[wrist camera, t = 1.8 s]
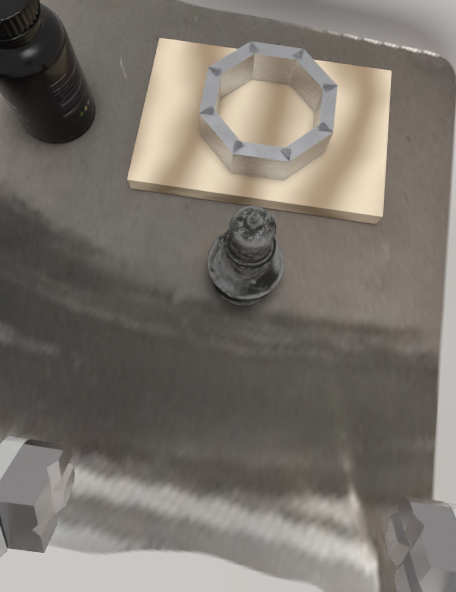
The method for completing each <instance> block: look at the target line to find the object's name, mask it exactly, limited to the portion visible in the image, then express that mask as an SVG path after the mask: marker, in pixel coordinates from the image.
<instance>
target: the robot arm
mask: <svg viewBox="0 0 456 592" xmlns="http://www.w3.org/2000/svg"><path fill="white" fill-rule="evenodd" d="M71 457H72V449H71V446H67V445H61V444H55V443H49V442H43V441H37V440H31V439H26V438H20V437H13V436H8V437H7V438H6V439H4V440H3V441H2V442H1V443H0V557H1V556H2V555H3V554H4V553H5V552H7V548H10V549H18V550H26V551H34V552H41V553H43V552H45V549H46V547H47V545H48V543H49V541H50V539H51V536H52V534H53V532H54V530H55V528H56V526H57V521H56V515H55V514H56V513H57V512H59V511H60V510H61V509H63V508H64V507H65V506H66V503H67V501H68V499H69V497H70V494H71V490H72V487H73V483H74V474H75V473H74V467H73V465H72V464H71V463H70V462H69V461H70V459H71ZM397 507H398V511H399V512H397V513H395V514H393V515H391V517H390V519H389V521H388V523H387V529H386V543H387V549H388V553H389V557H390V558H391V560H392V561H393V562H394V563H395V565H396V566H397V567H398V569H397V572H396V574H395V576H394V579H395V583H396V587H397V592H456V504H451V503H445V502H442V501H435V500H428V499H420V498H413V497H405V496H404V497H402V498H400V500H399V502H398V504H397Z"/></svg>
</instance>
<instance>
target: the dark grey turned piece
mask: <svg viewBox="0 0 456 592" xmlns="http://www.w3.org/2000/svg"><path fill="white" fill-rule="evenodd" d="M275 234H276V223H275V220H274V218H273V216H272V215H271V214H270V213H269V212H268V211H267V210H266V209H264V208H262V207H259V206H246V207H243V208H241V209H240V210H238V211H237V212H236V213H235V214H234V216H233V217H232V219H231V222H230V227H229V229H228V230H227V231H226V232H224V233H223V234H222V235H221V236H219V237H218V238H217V239H216V240H215V242H214V243H213V245H212V246H211V249H210V251H209V254H208V264H207V265H208V270H209V275H210V276H211V278H212V280H213V285H214V287H215V289H216V291H217V293H218V294H219V295H220V296H221V297H222V298H223V299H224V300H226V301H227V302H229V303H232V304H235V305H239V306H248V305H253V304H255V303H257V302H259V301H261V300H262V299H264V298H265V297H266V296H267V295H268V293H269V292H270V291H271V290H272V289H273V288H275V287H276V285H277V283H278V282H279V280H280V279H281V276H282V273H283V270H284V259H283V255H282V251H281V249H280V247H279V245H278V244H277V242H276V240H275Z"/></svg>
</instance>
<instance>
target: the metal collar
mask: <svg viewBox="0 0 456 592" xmlns="http://www.w3.org/2000/svg"><path fill="white" fill-rule="evenodd" d="M251 80H256V81H263V82H270V83H277V84H284V85H290V86H291V87H292V88H293V89H294V90H295V91H296V92H297V93H298V95H299V96H300V97H301V98H302V99H303V100H304V101H305V102H306V103H307V105H308V106H309V107H310V108H311V109H312V110H313V111H314V112H315V115H314V124H313V129H312V130H311V131H309V132H308V133H306V134H305V135H303V136H302V137H300V138H299V139H297V140H296V141H294V142H293V143H291V144H290V145H288V146H287V147H285V148H284V147H277V146H270V145H263V144H256V143H249V142H242V141H240V140H239V138H238V137H237V136H236V135H235V134H234V133H233V131H232V130H231V129H230V128H229V127H228V125H227V124H226V123H225V122H224V121H223V119H222V118H221V117H220V116H219V115H218V112H219V107H220V101H221V99H222V98H224V97H225V96H227V95H228V94H230V93H232V92H233V91H235V90H236V89H238V88H240V87H241V86H243V85H245V84H246V83H248V82H249V81H251ZM337 88H338V85H337V84H336V83H335V82H334V81H333V80H332V79H331V78H330V77H329V76H328V75H327V74H326V72H325V71H324V70H323V69H322V68H321V67H320V66H319V65H318V64H317V63H316V62H315V61H314V60H313V59H312V57H311V56H310V55H309V54H308V53H307V52H306V51H305V50H304V49H301V48H294V47H287V46H280V45H273V44H266V43H259V42H249V43H247V44H246V45H244V46H242V47H241V48H239V49H237V50H236V51H234V52H232V53H231V54H229V55H227V56H226V57H224V58H222V59H221V60H219V61H217V62H216V63H214V64H212V65H211V66H209V67H208V69H207V74H206V80H205V85H204V90H203V95H202V101H201V106H200V111H199V122H200V136H201V137H202V138H203V140H204V141H205V142H206V143H207V144H208V146H209V147H210V148H211V149H212V151H213V152H214V153H215V154H216V155H217V157H218V158H219V159H220V160H221V161H222V163H223V164H224V165H225V166H226V168H227V169H228V170H229V171H230V172H231V174H238V175H245V176H252V177H259V178H266V179H273V180H280V181H284V180H286V179H287V178H289V177H290V176H292V175H293V174H295V173H296V172H298V171H299V170H301V169H302V168H304V167H305V166H307V165H308V164H310V163H311V162H313V161H314V160H315V159H317V158H318V157H320V156H321V155H323V154H324V153H325V150H326V148H327V146H328V144H329V141H330V139H331V137H332V134H333V129H334V119H335V108H336V98H337Z"/></svg>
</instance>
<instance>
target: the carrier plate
mask: <svg viewBox="0 0 456 592" xmlns="http://www.w3.org/2000/svg"><path fill="white" fill-rule="evenodd" d="M236 50H237V49H234V48H227V47H220V46H213V45H206V44H199V43H192V42H185V41H178V40H171V39H163V38H160V39H159V43H158V47H157V52H156V56H155V60H154V65H153V69H152V74H151V78H150V82H149V87H148V91H147V95H146V100H145V104H144V108H143V113H142V117H141V121H140V126H139V130H138V134H137V139H136V143H135V148H134V152H133V156H132V161H131V165H130V169H129V174H128V178H127V181H128V183H129V185H130V188H132V189H139V190H146V191H153V192H160V193H166V194H173V195H180V196H187V197H194V198H201V199H208V200H214V201H221V202H228V203H235V204H242V205H249V206H259V207H262V208H269V209H276V210H283V211H290V212H297V213H303V214H310V215H317V216H324V217H331V218H338V219H345V220H351V221H358V222H365V223H372V224H377V223H378V222H379V220H380V219H381V218H382V217H383V204H384V187H385V170H386V154H387V137H388V120H389V103H390V87H391V71H390V70H382V69H375V68H368V67H361V66H354V65H347V64H340V63H333V62H326V61H319V60H314V61H315V62H316V63H317V64H318V65H319V66H320V67H321V68H322V69H323V70H324V71H325V72H326V74H327V75H328V76H329V77H330V78H331V79H332V80H333V81H334V82H335V83H336V84H337V85H338V88H337V98H336V108H335V119H334V129H333V134H332V137H331V139H330V141H329V144H328V146H327V148H326V150H325V153H324V154H323V155H321V156H320V157H318V158H317V159H315V160H314V161H313V162H311V163H310V164H308V165H307V166H305V167H304V168H302V169H301V170H299V171H298V172H296V173H295V174H293V175H292V176H290V177H289V178H287V179H286V180H284V181H280V180H273V179H266V178H259V177H252V176H245V175H238V174H231V172H230V171H229V170H228V169H227V168H226V166H225V165H224V164H223V163H222V161H221V160H220V159H219V158H218V157H217V155H216V154H215V153H214V152H213V151H212V149H211V148H210V147H209V146H208V144H207V143H206V142H205V141H204V140H203V138H202V137H201V136H200V122H199V111H200V106H201V101H202V95H203V90H204V85H205V80H206V74H207V69H208V67H209V66H211V65H212V64H214V63H216V62H217V61H219V60H221V59H222V58H224V57H226V56H227V55H229V54H231V53H232V52H234V51H236ZM218 115H219V116H220V117H221V118H222V119H223V121H224V122H225V123H226V124H227V125H228V127H229V128H230V129H231V130H232V131H233V133H234V134H235V135H236V136H237V137H238V138H239V140H240V141H242V142H249V143H256V144H263V145H270V146H277V147H284V148H285V147H287V146H288V145H290V144H291V143H293V142H294V141H296V140H297V139H299V138H300V137H302V136H303V135H305V134H306V133H308V132H309V131H311V130H312V129H313V124H314V115H315V112H314V111H313V110H312V109H311V108H310V107H309V106H308V105H307V103H306V102H305V101H304V100H303V99H302V98H301V97H300V96H299V95H298V93H297V92H296V91H295V90H294V89H293V88H292V87H291V86H290V85H284V84H277V83H270V82H263V81H256V80H251V81H249V82H248V83H246V84H245V85H243V86H241V87H240V88H238V89H236V90H235V91H233V92H232V93H230V94H228V95H227V96H225V97H224V98H222V99H221V101H220V107H219V112H218Z"/></svg>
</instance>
